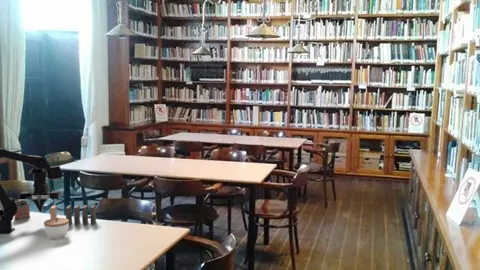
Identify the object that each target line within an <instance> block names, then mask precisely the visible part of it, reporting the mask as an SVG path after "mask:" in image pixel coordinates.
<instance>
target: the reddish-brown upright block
mask: <svg viewBox="0 0 480 270" xmlns="http://www.w3.org/2000/svg"><path fill="white" fill-rule="evenodd" d="M15 203H16V205H17V206H18V207H17V213H16V214H15V215H14V217H13V220H14V221H21V220H26V219H29V218H31V215H30V213H31V212H30V211H31V210H30V205H31V204H30V203H29V202H28V199H20V200H17V201H16V200H15Z"/></svg>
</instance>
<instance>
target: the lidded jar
mask: <svg viewBox="0 0 480 270" xmlns="http://www.w3.org/2000/svg"><path fill="white" fill-rule="evenodd" d="M43 226H44V232H45V235H46V236H47V237H48V238H49V239H51V240H62V239H64V238H65V236H66V235H67V233H68V232H69V229H70V228H69V227H70V225H69V219H66V217H58V216H57V217H56V218H54V219H51V218H49V219H46V220H45V221H44V222H43Z"/></svg>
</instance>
